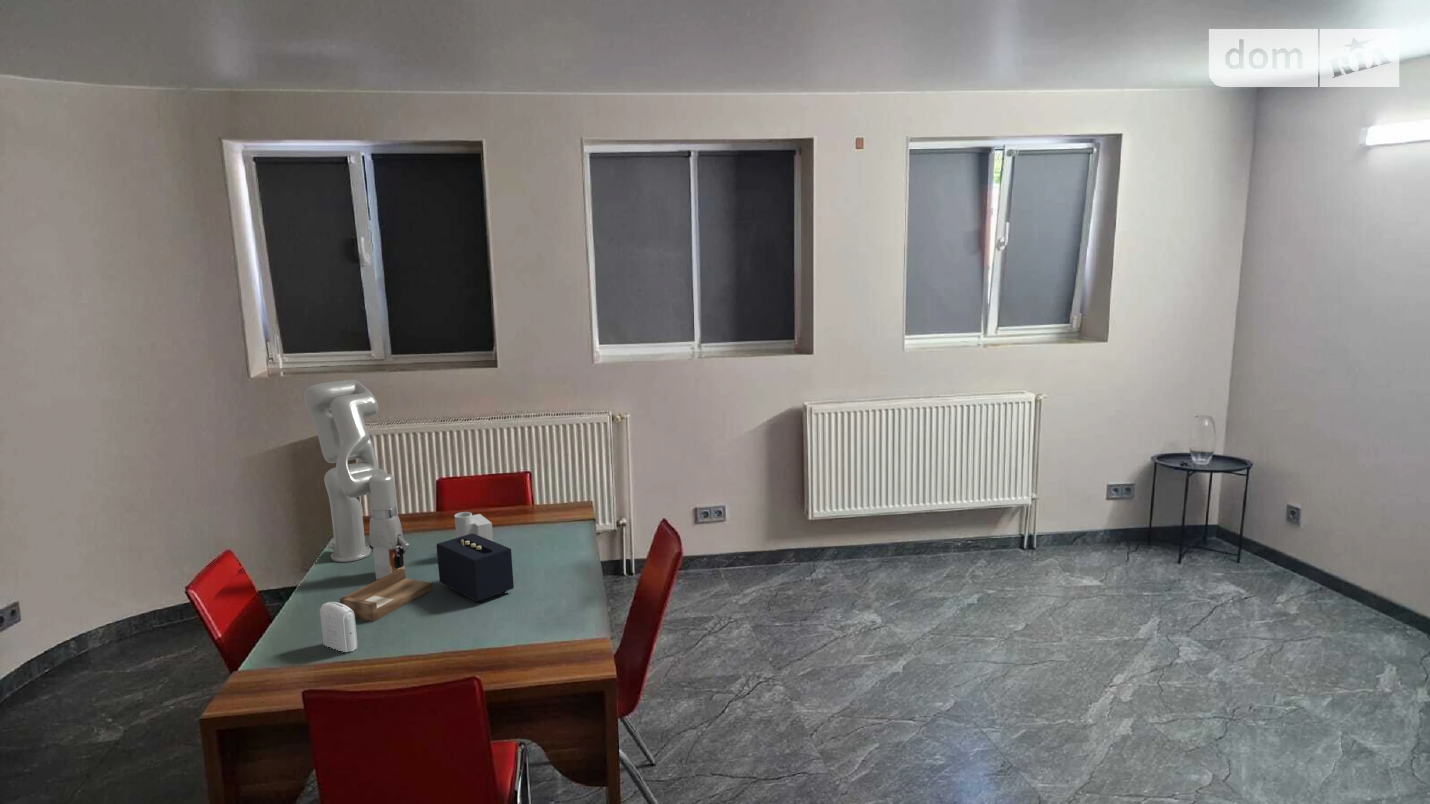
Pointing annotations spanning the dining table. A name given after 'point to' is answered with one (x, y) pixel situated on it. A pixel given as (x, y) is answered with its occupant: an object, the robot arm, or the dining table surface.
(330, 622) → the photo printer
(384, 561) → the small box
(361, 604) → the wooden tray
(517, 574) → the dining table surface
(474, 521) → the white desk organizer
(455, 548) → the speaker
